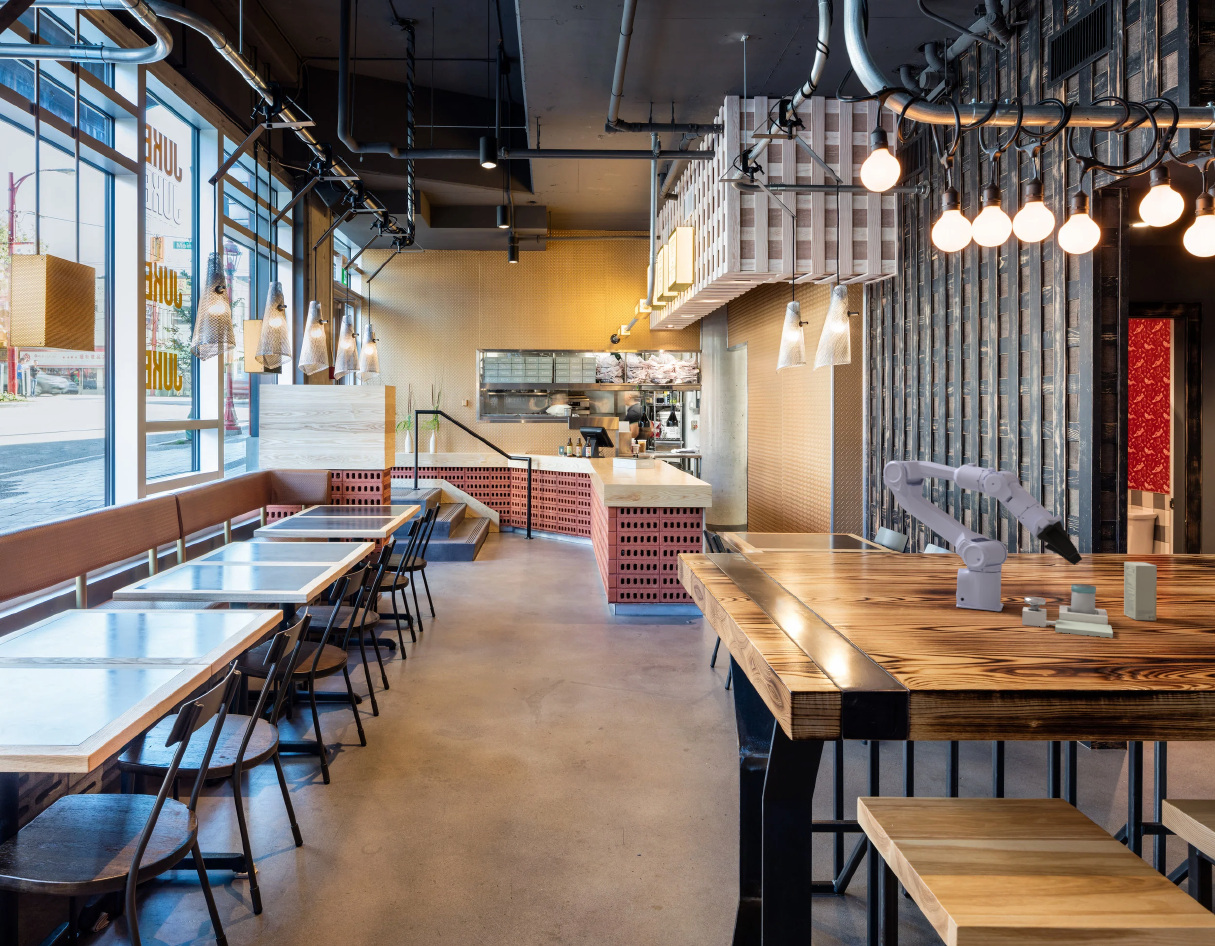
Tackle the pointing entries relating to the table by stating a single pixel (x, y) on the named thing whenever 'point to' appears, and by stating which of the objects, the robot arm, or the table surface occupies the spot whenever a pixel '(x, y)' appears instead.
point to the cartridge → (1083, 598)
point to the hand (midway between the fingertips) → (1076, 558)
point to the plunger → (1034, 602)
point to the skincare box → (1140, 590)
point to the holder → (1062, 616)
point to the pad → (1083, 628)
